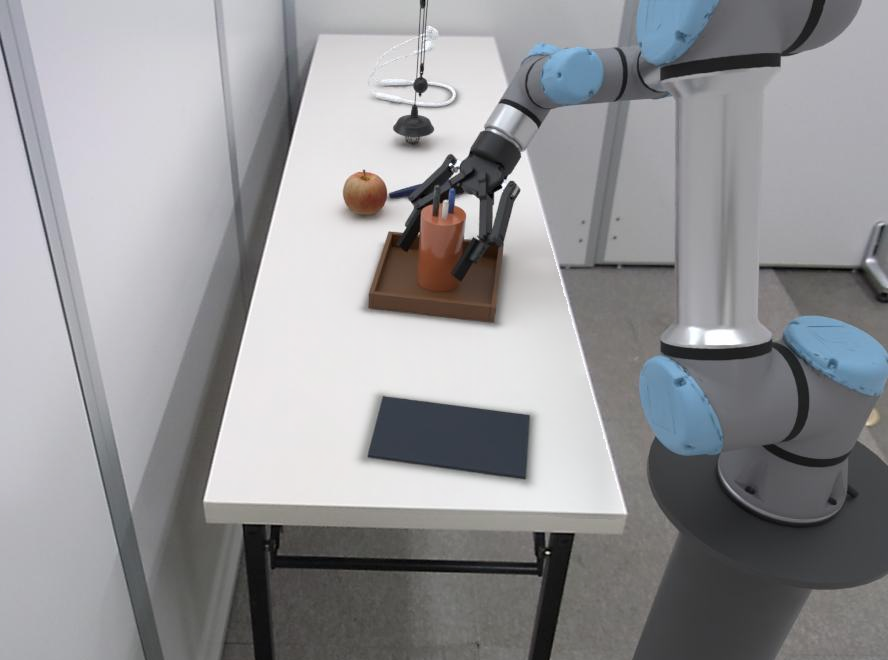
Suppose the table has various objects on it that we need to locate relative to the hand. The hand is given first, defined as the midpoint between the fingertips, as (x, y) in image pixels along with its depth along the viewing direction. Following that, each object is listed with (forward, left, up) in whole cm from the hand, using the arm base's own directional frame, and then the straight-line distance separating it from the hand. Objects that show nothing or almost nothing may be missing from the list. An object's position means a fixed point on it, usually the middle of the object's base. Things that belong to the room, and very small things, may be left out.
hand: (428, 262), depth 142 cm
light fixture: (+9, -53, -5) cm, 54 cm away
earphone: (+13, -80, -5) cm, 81 cm away
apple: (+14, -23, -5) cm, 28 cm away
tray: (-2, -2, -5) cm, 5 cm away
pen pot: (-2, -2, -4) cm, 5 cm away
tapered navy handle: (+3, -32, -5) cm, 33 cm away
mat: (-8, +35, -5) cm, 36 cm away
